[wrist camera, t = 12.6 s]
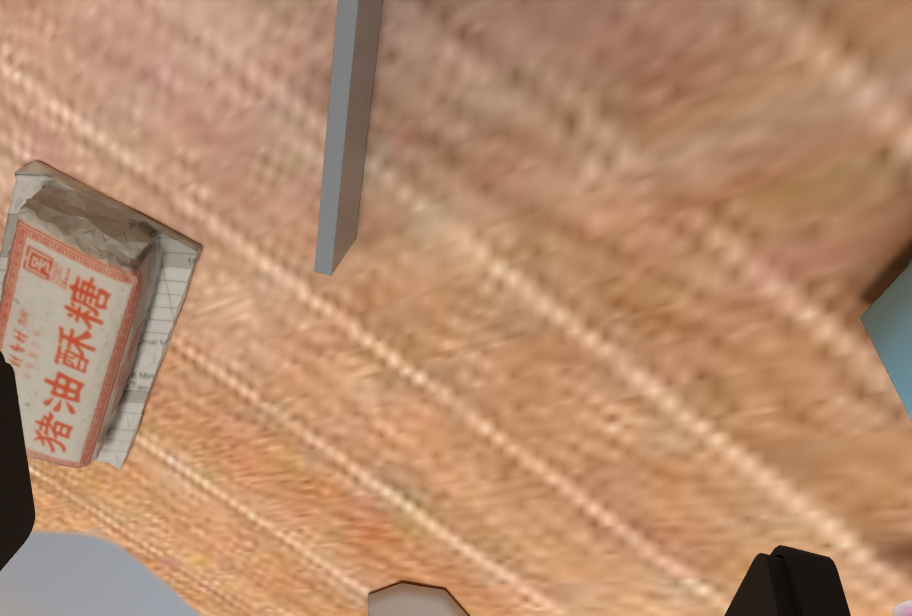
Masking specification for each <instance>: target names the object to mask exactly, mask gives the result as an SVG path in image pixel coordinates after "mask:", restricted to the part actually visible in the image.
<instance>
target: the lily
mask: <svg viewBox="0 0 912 616" xmlns="http://www.w3.org/2000/svg"><path fill="white" fill-rule="evenodd" d="M891 612H892V613H893V614H894V615H895V616H912V599H910V600H907V601H905V602H903V603H901V604H899V605H897V606H895V607H894V608H893V610H892V611H891Z"/></svg>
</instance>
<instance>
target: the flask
mask: <svg viewBox="0 0 912 616" xmlns="http://www.w3.org/2000/svg"><path fill="white" fill-rule="evenodd" d="M368 616H467V615H466V613H465V612H464V611H463V610H462V609H461V608H460V607H459V605H458V604H457V603H456V602H455V601H454V600H453V599H452V598H451V596H450V595H449V594H448V593H447V592H446V591H445V590H441V589H435V588H429V587H423V586H417V585H411V584H405V583H400V584H397V585H394V586H392V587H389V588H386V589H384V590H381V591H378V592H375V593H373V594H370V595H368Z"/></svg>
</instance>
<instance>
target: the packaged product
mask: <svg viewBox="0 0 912 616" xmlns="http://www.w3.org/2000/svg"><path fill="white" fill-rule="evenodd" d="M15 178H16V184H15V186H14V189H13V191H12V200H11V204H10V208H9V212H8V218H7V223H6V228H5V233H4V238H3V245H2V250H1V252H0V351H1V352H2V353H3V355H4V358H5V362H6V363H9V364H10V365H11V366H12V367H13V369H14V373H15V379H16V386H17V393H18V400H19V406H20V413H21V420H22V427H23V433H24V440H25V447H26V454H27V457H31V458H35V459H40V460H46V461H47V462H49V463H50V462H53V463H54V464H55V465H59V466H67V467H75V468H82V467H85V466H87V465H89V464H90V463H91V462H92V461H94V460H97V461H98V462H100V463H105V462H109V463H110V464H112V465H113V466H114V467H116V468H117V469H119V471H120V469H121V468H122V466H123V464H124V462H125V461H126V458H127V456H128V453H129V451H130V449H131V446H132V444H133V441H134V438H135V436H136V433H137V431H138V428H139V425H140V421H141V416H142V412H143V409H144V407H145V404H146V401H147V399H148V396H149V394H150V391H151V388H152V386H153V383H154V380H155V378H156V375H157V373H158V370H159V367H160V365H161V362H162V360H163V358H164V356H165V354H166V352H167V350H168V347H169V342H170V340H171V338H172V334H173V329H174V324H175V321H176V318H177V316H178V313H179V311H180V309H181V306H182V304H183V301H184V299H185V297H186V294H187V291H188V287H189V284H190V281H191V277H192V274H193V271H194V267H195V264H196V261H197V257H198V255H199V253H200V251H201V245H199V244H197V243H195V242H194V241H192V240H190V239H188V238H186V237H184V236H182V235H181V234H179V233H177V232H175V231H173V230H171V229H169V228H167V227H165V226H164V225H162V224H160V223H158V222H156V221H154V220H152V219H150V218H148V217H146V216H145V215H143V214H141V213H139V212H137V211H135V210H133V209H131V208H129V207H127V206H126V205H124V204H122V203H119V202H117V201H115V200H113V199H111V198H109V197H107V196H105V195H103V194H101V193H99V192H97V191H96V190H94V189H92V188H90V187H88V186H86V185H85V184H83V183H81V182H79V181H77V180H75V179H73V178H71V177H69V176H67V175H65V174H63V173H61V172H59V171H57V170H55V169H53V168H51V167H49V166H47V165H45V164H43V163H41V162H39V161H37V160H35V161H32V162H31V163H29V164H27V165H26V166H24V167H22V168H21V169H19V170H17V171H16V172H15Z"/></svg>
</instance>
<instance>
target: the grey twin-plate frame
mask: <svg viewBox="0 0 912 616" xmlns="http://www.w3.org/2000/svg"><path fill="white" fill-rule="evenodd" d="M382 4H383V0H338V5H337V16H336V28H335V39H334V51H333V63H332V74H331V86H330V97H329V109H328V121H327V132H326V144H325V155H324V167H323V179H322V190H321V202H320V213H319V225H318V237H317V248H316V260H315V271H314V272H317V273H322V274H326V275H330V276H331V275H332V274H333V272H334V271H335V269H336V268H337V266H338V265H339V263H340V262H341V260H342V259H343V257H344V256H345V254H346V253H347V251H348V250H349V248H350V247H351V245H352V244H353V242H354V241H355V240H356V232H357V223H358V215H359V206H360V197H361V188H362V179H363V171H364V162H365V153H366V144H367V136H368V127H369V118H370V109H371V101H372V92H373V83H374V74H375V65H376V57H377V48H378V39H379V30H380V22H381V13H382Z"/></svg>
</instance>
